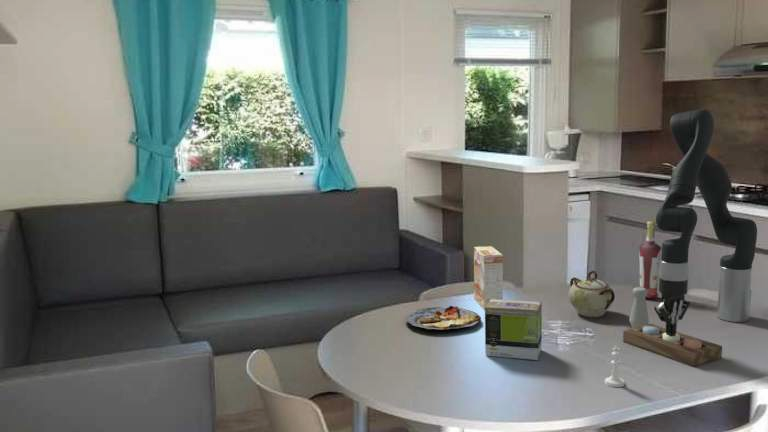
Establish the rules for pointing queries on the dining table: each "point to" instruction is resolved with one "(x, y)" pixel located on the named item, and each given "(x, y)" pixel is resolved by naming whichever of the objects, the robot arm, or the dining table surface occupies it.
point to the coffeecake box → (487, 275)
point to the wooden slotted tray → (673, 346)
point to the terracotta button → (692, 344)
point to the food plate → (443, 318)
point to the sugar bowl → (591, 296)
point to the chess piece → (615, 371)
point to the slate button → (651, 330)
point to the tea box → (513, 328)
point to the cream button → (671, 337)
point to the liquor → (649, 263)
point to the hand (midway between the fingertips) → (670, 335)
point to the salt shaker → (639, 308)
